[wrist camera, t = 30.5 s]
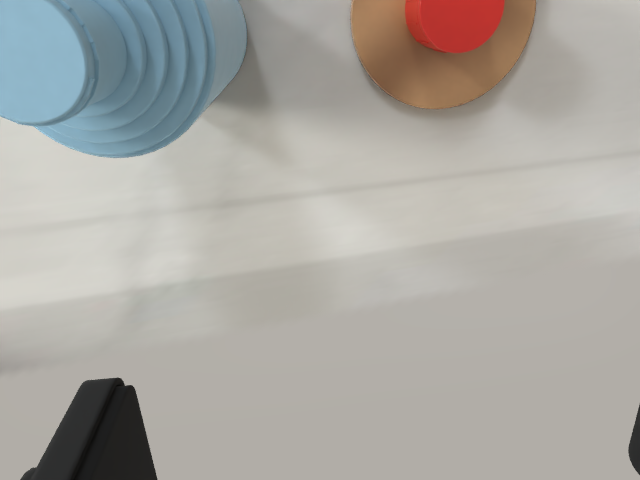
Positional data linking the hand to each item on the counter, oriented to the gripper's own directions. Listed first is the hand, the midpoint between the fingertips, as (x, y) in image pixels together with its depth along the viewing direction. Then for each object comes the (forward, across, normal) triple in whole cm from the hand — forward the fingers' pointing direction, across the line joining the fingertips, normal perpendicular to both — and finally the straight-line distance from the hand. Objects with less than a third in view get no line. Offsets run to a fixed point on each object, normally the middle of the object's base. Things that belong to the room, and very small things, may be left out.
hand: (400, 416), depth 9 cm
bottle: (+23, +7, -6) cm, 25 cm away
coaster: (+23, -7, -7) cm, 25 cm away
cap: (+22, -7, -7) cm, 24 cm away
